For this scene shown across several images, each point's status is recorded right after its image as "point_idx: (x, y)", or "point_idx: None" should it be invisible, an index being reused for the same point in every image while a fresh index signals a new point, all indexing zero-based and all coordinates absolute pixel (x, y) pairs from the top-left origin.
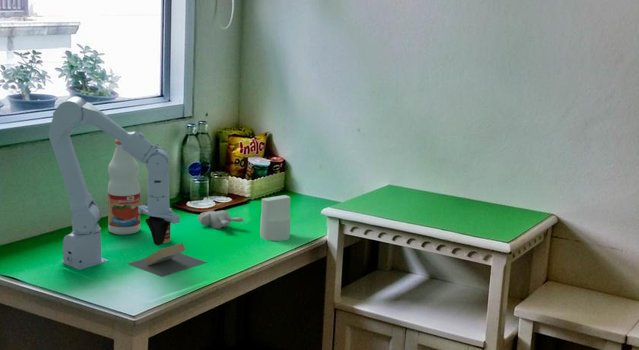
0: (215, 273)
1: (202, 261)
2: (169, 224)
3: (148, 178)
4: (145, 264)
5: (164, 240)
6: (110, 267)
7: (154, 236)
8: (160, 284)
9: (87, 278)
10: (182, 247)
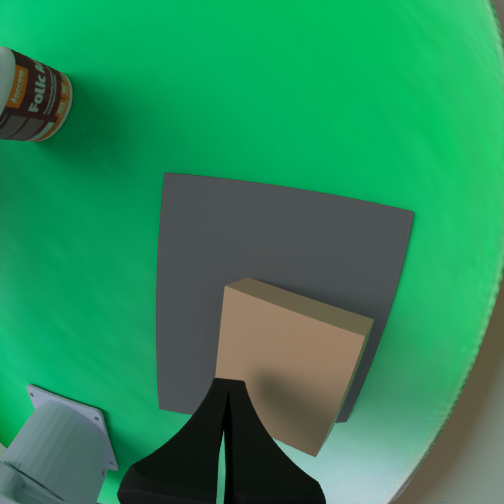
0: (471, 280)
1: (393, 216)
2: (299, 471)
3: None
4: None
5: (58, 116)
6: (144, 433)
7: (219, 450)
8: (365, 439)
9: None
10: (366, 339)
